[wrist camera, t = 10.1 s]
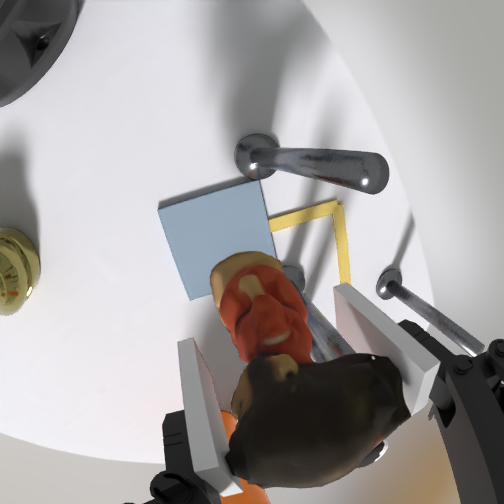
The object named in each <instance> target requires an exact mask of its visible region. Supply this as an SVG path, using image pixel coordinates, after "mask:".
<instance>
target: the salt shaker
mask: <svg viewBox="0 0 504 504" xmlns="http://www.w3.org/2000/svg"><path fill="white" fill-rule="evenodd" d="M39 276H40V265H39V260H38V256H37V253H36V251H35V249H34V247H33V245H32V244H31V242H30V241H29V239H28V238H27V237H26V236H25V235H24V234H23V233H21V232H20V231H18V230H16V229H14V228H9V227H5V228H1V229H0V315H1V316H9V315H13V314H15V313H16V312H18V311H19V310H20V308H21V307H22V305H23V303H24V302H25V301H26V300H27V299H28V298H29V296H30V295H31V293H32V292H33V290H34V289H35V288H36V286H37V284H38V281H39Z"/></svg>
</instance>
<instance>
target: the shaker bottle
mask: <svg viewBox="0 0 504 504" xmlns="http://www.w3.org/2000/svg"><path fill="white" fill-rule="evenodd" d="M220 412H221V416H222V420H223V423H224V427H225V431H226V435H227V438H228V442H229V441H230V437H231V435H232V433H233V432H234V431H235V426H236V424H237V421H236V419H235V417H234V416H233V415H232V414H230V413H228V412H224V411H220ZM239 479H240V483H241V486H242V489H243V492H242V493H238V494H234V495H229V496H225V497H223V496H222V495H220V494H219V495H220V498H221V502H222V504H271V503H270V501H269V499H268V497H267V494H266V492H265V490H264V489H261V488H260V487H259V486H257V485H252V484H248V483H247V480H244V479H241V478H239Z"/></svg>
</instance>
